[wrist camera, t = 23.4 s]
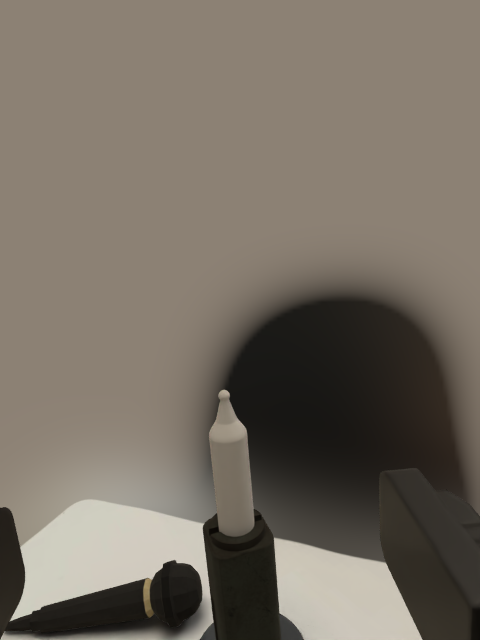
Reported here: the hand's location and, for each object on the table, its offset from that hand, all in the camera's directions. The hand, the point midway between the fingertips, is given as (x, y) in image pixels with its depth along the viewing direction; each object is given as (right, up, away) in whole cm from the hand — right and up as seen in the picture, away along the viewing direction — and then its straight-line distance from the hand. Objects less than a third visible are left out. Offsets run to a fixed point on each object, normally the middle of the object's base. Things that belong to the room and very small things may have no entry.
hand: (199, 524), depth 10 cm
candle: (+2, -25, +30) cm, 39 cm away
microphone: (-12, -26, +36) cm, 46 cm away
